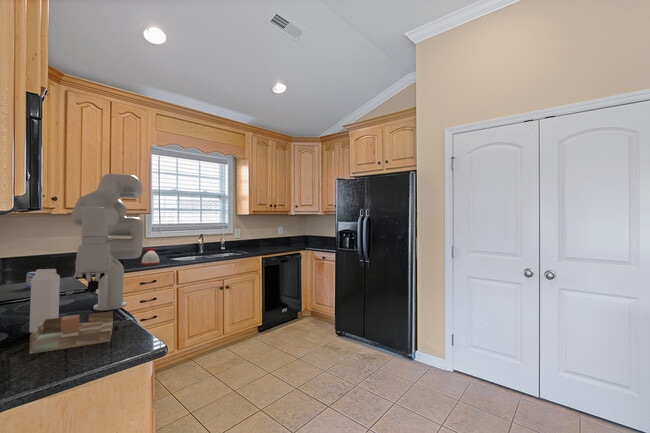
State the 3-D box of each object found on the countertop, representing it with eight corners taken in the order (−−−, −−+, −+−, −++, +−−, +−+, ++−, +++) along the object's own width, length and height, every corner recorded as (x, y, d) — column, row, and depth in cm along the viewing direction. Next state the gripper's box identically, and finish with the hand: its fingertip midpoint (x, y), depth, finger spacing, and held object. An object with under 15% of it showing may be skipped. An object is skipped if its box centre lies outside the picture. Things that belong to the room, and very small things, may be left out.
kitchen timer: (140, 263, 273) (141, 246, 273) (157, 262, 281) (158, 246, 282) (142, 265, 262) (143, 247, 262) (160, 264, 270) (161, 247, 270)
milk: (49, 331, 111) (51, 270, 111) (28, 332, 109) (31, 270, 109) (58, 325, 116) (60, 267, 116) (38, 326, 114) (40, 268, 115)
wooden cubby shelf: (43, 335, 107) (43, 319, 107) (112, 325, 118) (113, 311, 118) (29, 353, 92) (30, 335, 92) (110, 341, 103) (110, 324, 103)
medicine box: (25, 288, 174) (26, 272, 174) (34, 286, 178) (35, 271, 178) (36, 289, 172) (36, 273, 172) (45, 287, 176) (45, 272, 176)
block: (62, 327, 107) (63, 316, 107) (79, 325, 110) (79, 314, 110) (60, 331, 104) (61, 320, 104) (77, 329, 106) (78, 317, 106)
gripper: (119, 239, 118) (118, 287, 118) (69, 240, 110) (68, 291, 110) (118, 241, 112) (117, 291, 112) (65, 242, 104) (64, 296, 104)
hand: (93, 291), depth 111 cm, fingers closed
